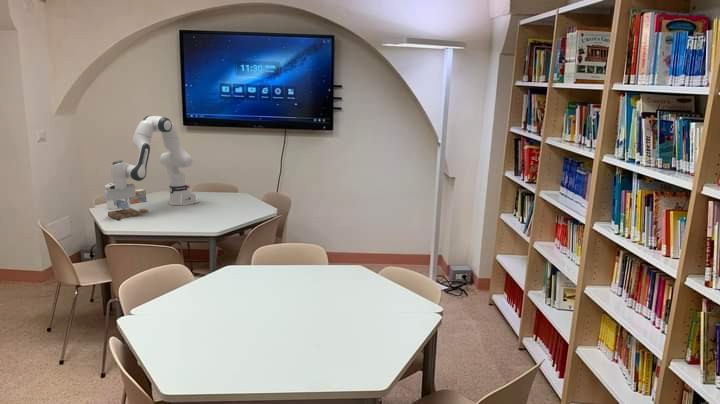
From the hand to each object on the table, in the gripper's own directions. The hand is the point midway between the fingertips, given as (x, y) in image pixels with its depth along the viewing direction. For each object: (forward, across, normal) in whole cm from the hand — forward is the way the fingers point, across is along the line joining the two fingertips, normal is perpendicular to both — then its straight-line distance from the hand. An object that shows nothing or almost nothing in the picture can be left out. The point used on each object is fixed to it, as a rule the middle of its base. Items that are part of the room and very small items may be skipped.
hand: (121, 205), depth 345 cm
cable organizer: (+8, -8, -25) cm, 28 cm away
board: (+8, -2, 0) cm, 8 cm away
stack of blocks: (+8, -22, -37) cm, 44 cm away
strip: (+3, 0, 0) cm, 3 cm away
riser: (+8, -15, 0) cm, 17 cm away
